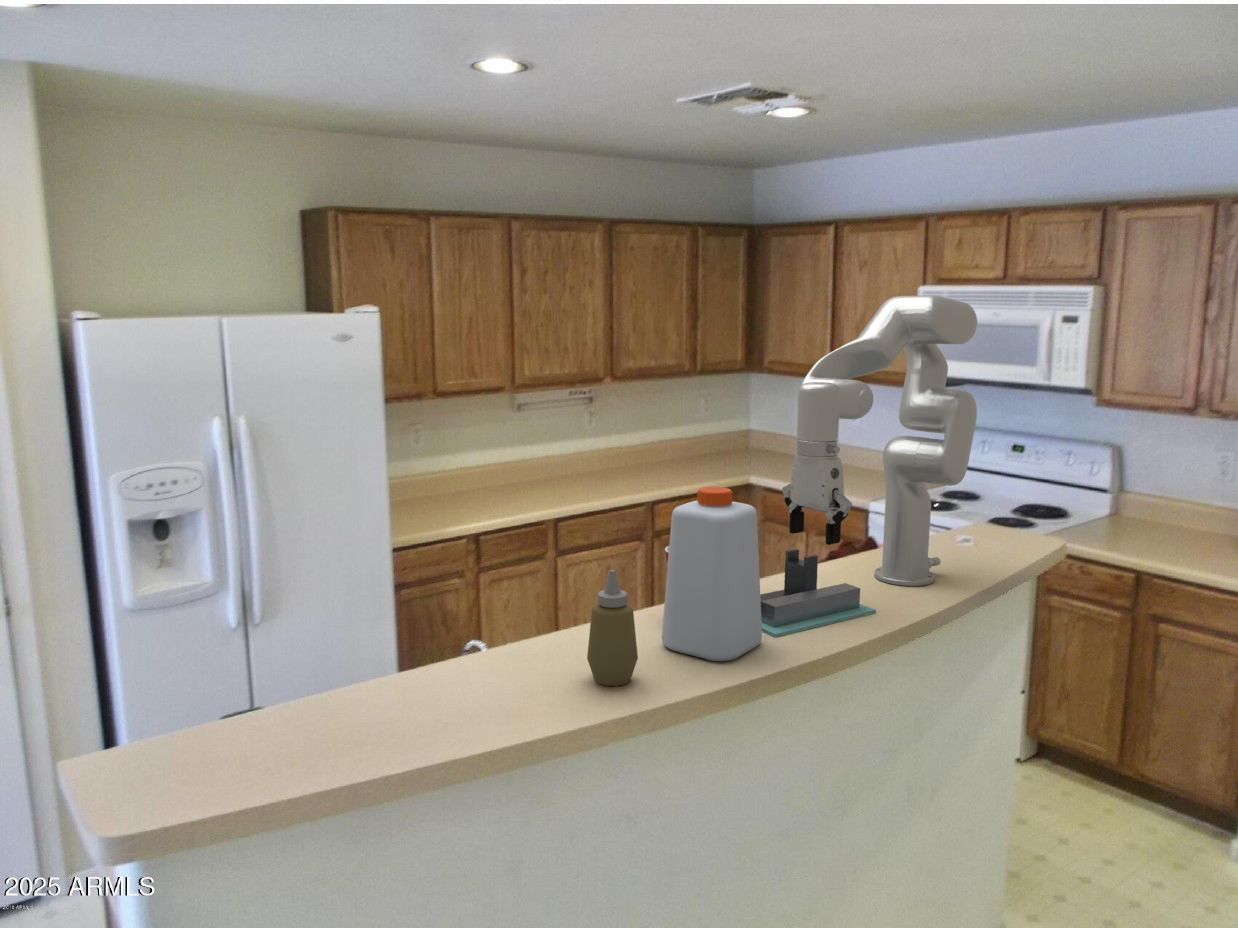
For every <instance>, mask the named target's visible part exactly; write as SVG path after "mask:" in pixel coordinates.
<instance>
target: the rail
mask: <svg viewBox="0 0 1238 928" xmlns="http://www.w3.org/2000/svg"><path fill="white" fill-rule="evenodd" d="M860 599H861V588H860V587H857V586H855V585H852V584H849V583H847V582H846V583H845V582H843V583H839V584H835V585H831V586H826V587H821V588H820V587H819V588H817V589H815V590H811V591H806V592H801V593H797V594H792V595H787V596H783V597H778V598H773V599H768V600H764V601H761V622H762V623H764V624H767V625H769V626H771V627H774V628H776V627H780V626H784V625H789V624H793V623H797V622H801V621H806V620H810V619H814V618H818V617H822V616H827V615H831V614H835V613H839V612H844V611H848V610H852V609H856V608H859V605H860V604H861V603H860V601H861V600H860Z"/></svg>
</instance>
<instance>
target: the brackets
mask: <svg viewBox="0 0 1238 928" xmlns="http://www.w3.org/2000/svg"><path fill="white" fill-rule="evenodd" d="M818 557H819V555H816V554H812V555H807V556H803V559H800V549H798V548H794V549H788V550H785V558H784V559H785V560H784V582H783V583H784V585H783V587H784V588H783V589H781V590H776V591H771V592H767V593H766V592H765V593H762V594H761V593H760V599H761V601H764V600H768V599H773V598H778V597H783V596H787V595H792V594H797V593H801V592H806V591H811V590H815V589H818V587H817V586H818V562H819V561H818V560H819V559H818Z"/></svg>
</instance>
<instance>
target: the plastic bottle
mask: <svg viewBox="0 0 1238 928" xmlns="http://www.w3.org/2000/svg"><path fill="white" fill-rule="evenodd" d="M696 492H697V495H696V500H694V501H690V502H687V503H684V504H681V505H678V506H675V508H674V509H673V510H672V513H671V520H670V521H671V522H670V531H669V533H670V534H669V535H670V536H669V545H668V546H669V556H668V568H667V567H666V582H665V596H664V605H663V616H662V617H663V619H662V632H661V641H662V644H663V645H664V646H665V647H666V648H667V649H670V650H671V651H673V652H678V653H681V654H686V655H689V656H691V657H692V656H693V657H697V658H700V659H704V660H707V661H713V662H729V661H733V660H736V659H738V658H740V657H741V656H742V655H743V656H744V654H746V653H748V652H749V651H751V650H753V649H754V648H756V647H757V646H759V645H760V644H761V642H762V639H763V632H762V622H761V599H760V594H761V582H760V581H761V579H760V577H761V576H760V575H761V574H760V558H759V556H760V555H759V533H758V514H757V513H758V512H757V510H756V508H755V507H754V506H753V505H751V504H748V503H743V502H737V501H733V495H734V494H733V491H732V489H730V488H728V487H724V486H704V487H700V488H699V489H698V490H697V491H696Z"/></svg>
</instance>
